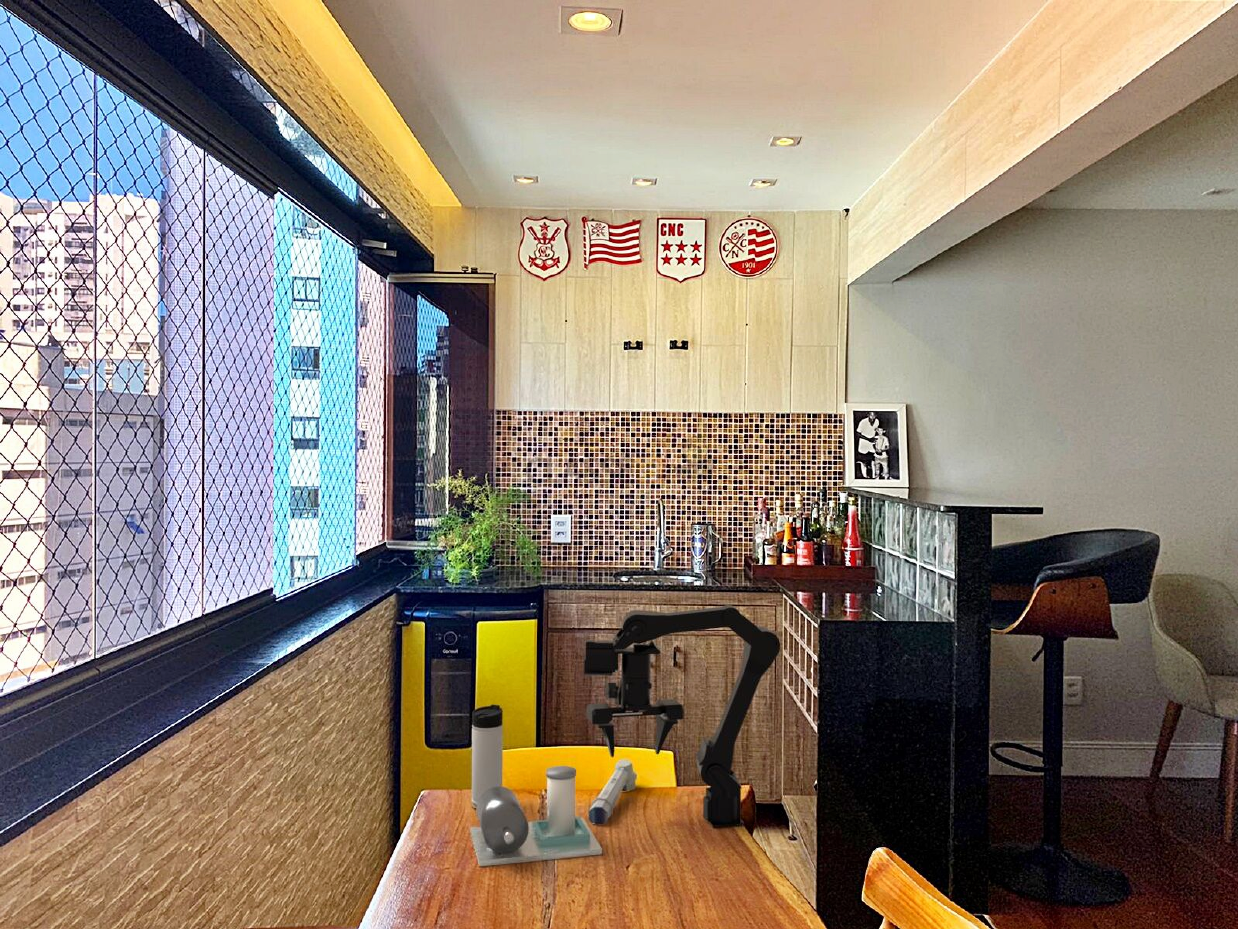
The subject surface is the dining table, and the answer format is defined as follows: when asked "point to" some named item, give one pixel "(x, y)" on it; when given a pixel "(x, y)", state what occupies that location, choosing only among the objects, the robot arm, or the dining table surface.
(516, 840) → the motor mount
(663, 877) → the dining table surface
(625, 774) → the light grey long piece
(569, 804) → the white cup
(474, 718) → the travel mug
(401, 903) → the dining table surface
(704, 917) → the dining table surface
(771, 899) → the dining table surface
